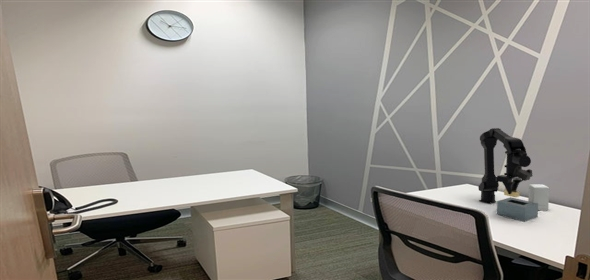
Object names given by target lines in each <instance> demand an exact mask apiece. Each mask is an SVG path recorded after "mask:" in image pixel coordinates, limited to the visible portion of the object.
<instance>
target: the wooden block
mask: <svg viewBox="0 0 590 280" xmlns="http://www.w3.org/2000/svg"><path fill="white" fill-rule="evenodd" d="M503 191H504V192H503V195H504V196H507V197H512V198H518V197H520V191H519V190H516V191H514V190H512V192H511V194H508V192H507V190H506V189H505V190H503Z"/></svg>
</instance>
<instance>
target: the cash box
mask: <svg viewBox="0 0 590 280" xmlns="http://www.w3.org/2000/svg"><path fill="white" fill-rule="evenodd" d="M496 215H498V216H502V217H505V218H510V219H514V220H517V221H521V222H527V221H531V220H533V219H536V218H538V217H539V216H538V215H539V210H538V203H534V202H530V201H528V200H524V199H519V198H517V197H512V196H509V197H507V198H503V199H500V200H497V201H496Z"/></svg>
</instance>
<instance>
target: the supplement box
mask: <svg viewBox="0 0 590 280" xmlns="http://www.w3.org/2000/svg"><path fill="white" fill-rule="evenodd" d="M549 200H550V187H548V186H547V185H545V184H542V183H540V184H538V183H535V184H532V183H531V184H528V200H527V201H530V202H534V203H538V211H541V212H542V211H543V212H544V211H547V212H548V211H549V202H550V201H549Z"/></svg>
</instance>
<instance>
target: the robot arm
mask: <svg viewBox="0 0 590 280" xmlns="http://www.w3.org/2000/svg"><path fill="white" fill-rule="evenodd" d="M479 141H480V145H481V147H482V148H483V155H484V157H483V158H484V174H483V176H482V177H481V182H480V183H479V185H478V191H480V199H479V200H478V201H479V202H482V203H485V204H493V203H497V201H496V194H495V193H496V192H498V190H499V187H500V184H499V183H502V185H503V186H504V188H505V190H507V192H508V194H511V192H512V190H514V191H518V190H517V189H518V187H519V185H520V183H521V182H523V181H524V182H525V181H530V179H531V177H533V170H532V169H530V168H529V169H523V168H527V167H529V166H530V165H531V162H532V160H531V157H530V156H529V155H528V153H527V149H526V147H525V145H524V142H523V140H522V139H521V138H518V137H513V136H511V135H509V134H508V133H506V132H504V131H503V130H502V129H501V128H499V127H494V128H489V130H487V131H485V132H483V133H482V134H480V136H479ZM498 141H499V142H501V143H502V144H503V148H504V149H505V150H506V151H504V153H505V154H506V164H505V165H503V166H504V167H503V168H505V172H504V173H503V174H501V175H497V176H496V173H495V156H494V155H495V154H494V153H495V151H494V148H495V147H496V146H497V142H498ZM522 167H523V168H522Z"/></svg>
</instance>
